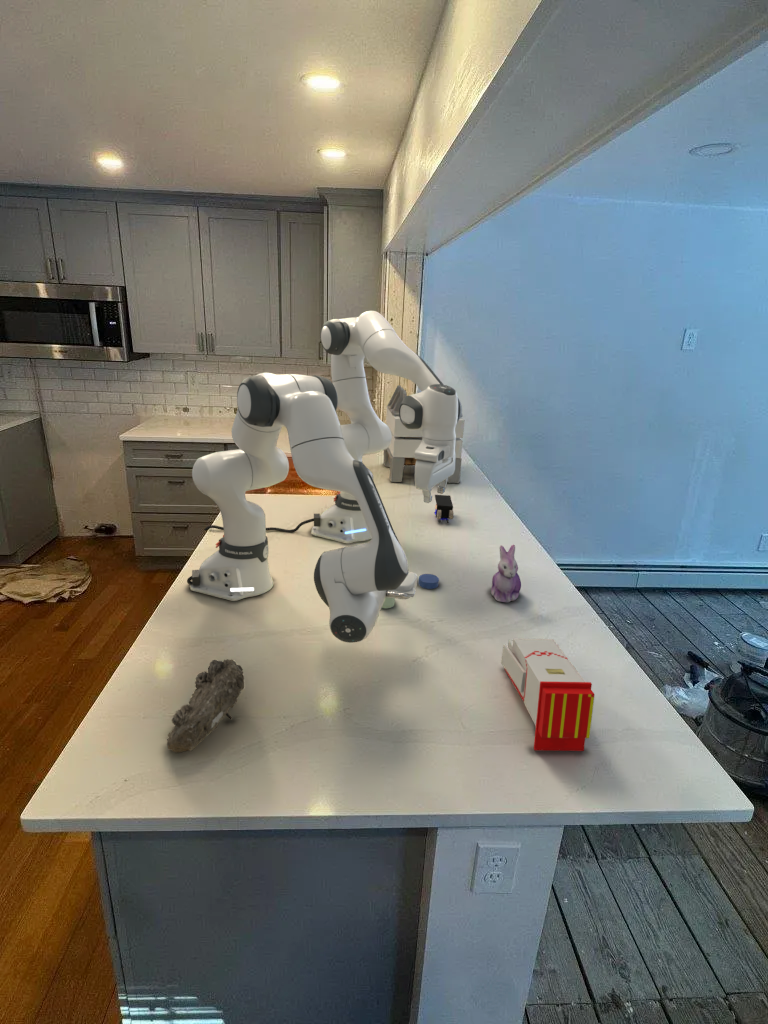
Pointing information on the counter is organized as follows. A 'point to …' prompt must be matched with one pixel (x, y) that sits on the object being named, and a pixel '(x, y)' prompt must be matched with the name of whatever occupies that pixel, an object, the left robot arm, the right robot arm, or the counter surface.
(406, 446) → the transformer
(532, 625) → the counter surface
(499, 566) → the figurine
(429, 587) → the lid
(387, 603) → the jar
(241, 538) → the left robot arm
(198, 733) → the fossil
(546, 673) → the toy
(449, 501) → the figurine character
